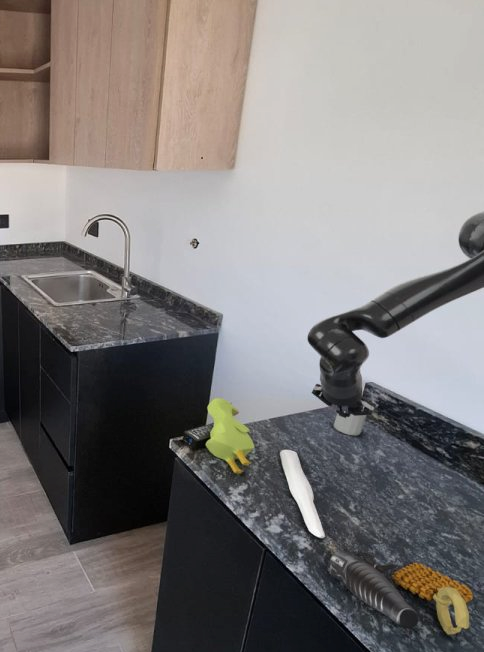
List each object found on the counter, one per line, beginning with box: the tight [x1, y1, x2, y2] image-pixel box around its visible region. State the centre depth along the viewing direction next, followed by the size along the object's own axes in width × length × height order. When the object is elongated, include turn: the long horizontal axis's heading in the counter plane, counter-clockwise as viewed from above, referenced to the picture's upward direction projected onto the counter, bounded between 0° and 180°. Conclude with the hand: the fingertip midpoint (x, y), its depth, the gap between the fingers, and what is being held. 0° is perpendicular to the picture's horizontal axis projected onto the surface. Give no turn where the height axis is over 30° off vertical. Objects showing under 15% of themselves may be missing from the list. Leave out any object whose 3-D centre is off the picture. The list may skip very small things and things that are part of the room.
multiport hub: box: [182, 422, 214, 450], centre depth 115 cm, size 4×11×2 cm, turn 117°
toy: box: [205, 397, 255, 475], centre depth 110 cm, size 6×17×20 cm
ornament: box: [391, 562, 474, 635], centre depth 73 cm, size 7×10×15 cm
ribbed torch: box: [327, 549, 419, 629], centre depth 75 cm, size 9×13×3 cm
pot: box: [333, 412, 368, 436], centre depth 121 cm, size 6×6×8 cm
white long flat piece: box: [279, 449, 326, 539], centre depth 99 cm, size 28×4×2 cm, turn 163°
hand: (344, 413), depth 114 cm, fingers closed
